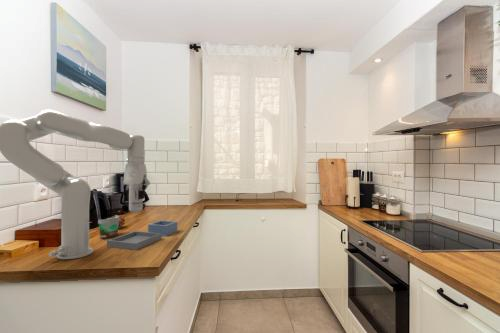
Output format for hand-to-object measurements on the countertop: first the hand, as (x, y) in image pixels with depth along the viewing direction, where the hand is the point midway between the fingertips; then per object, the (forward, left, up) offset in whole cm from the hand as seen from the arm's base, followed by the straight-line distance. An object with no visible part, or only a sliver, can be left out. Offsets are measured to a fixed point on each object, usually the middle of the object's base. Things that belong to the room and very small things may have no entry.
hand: (135, 198), depth 122 cm
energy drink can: (0, 0, -7) cm, 7 cm away
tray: (0, 0, -21) cm, 21 cm away
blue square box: (+19, -2, -21) cm, 29 cm away
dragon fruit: (+19, +30, -22) cm, 42 cm away
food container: (+5, +19, -22) cm, 29 cm away
